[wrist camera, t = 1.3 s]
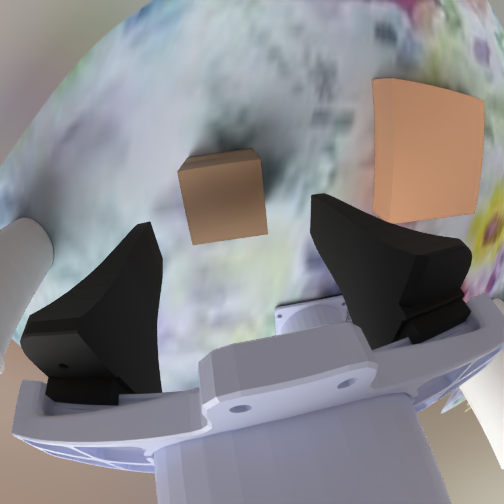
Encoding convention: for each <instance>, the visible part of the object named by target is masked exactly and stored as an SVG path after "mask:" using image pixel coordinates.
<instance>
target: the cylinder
mask: <svg viewBox="0 0 504 504" xmlns="http://www.w3.org/2000/svg"><path fill="white" fill-rule="evenodd" d="M492 301H493V302H494V303H495V305H496V306H497V307H498V309H499V310H500V311H501V313H502V314H503V315H504V302H503V301H502V300H501V299H493V300H492ZM459 387H460V389H461V390H462V392H463V394H464V395H465V397H466V399H467V401H468V402H469V404H470V406H471V408H472V409H473V411H474V413H475V415H476V417H477V419H478V420H479V422H480V424H481V426H482V428H483V430H484V432H485V434H486V436H487V438H488V440H489V442H490V444H491V446H492V448H493V450H494V452H495V455H496V457H497V459H498V461H499V464H500V466H501V468H502V470H503V469H504V348H503V349H502V350H501V351H500V353H499V354H498V355H497V356H496V357H495V358H494V359H493V360H492V361H491V363H490V364H489V365H488V366H487V367H486V368H484V369H483V370H482V371H480V372H479V373H478V374H476V375H475V376H473V377H472V378H471V379H469V380H468V381H466V382H465V383H463V384H462V385H461V386H459Z"/></svg>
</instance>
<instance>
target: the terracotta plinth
mask: <svg viewBox="0 0 504 504" xmlns="http://www.w3.org/2000/svg"><path fill="white" fill-rule="evenodd" d="M372 85H373V99H374V119H375V179H374V200H373V212H374V213H376V214H377V215H378V216H379V217H381V218H382V219H383V220H384V221H387V222H389V223H392V224H396V223H404V222H412V221H419V220H427V219H435V218H443V217H451V216H459V215H467V214H475V210H476V205H477V199H478V193H479V186H480V178H481V170H482V159H483V145H484V100H481V99H478V98H475V97H472V96H469V95H465V94H462V93H459V92H455V91H451V90H448V89H444V88H440V87H436V86H431V85H427V84H422V83H417V82H412V81H407V80H401V79H395V78H384V79H373V80H372Z"/></svg>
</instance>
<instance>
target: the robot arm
mask: <svg viewBox="0 0 504 504" xmlns="http://www.w3.org/2000/svg"><path fill="white" fill-rule="evenodd" d="M310 234H311V236H312V239H313V241H314V244H315V246H316V248H317V250H318V252H319V254H320V256H321V257H322V259H323V261H324V262H325V264H326V266H327V268H328V269H329V271H330V273H331V274H332V276H333V278H334V280H335V281H336V283H337V285H338V287H339V289H340V291H341V293H342V295H341V296H336V297H330V298H325V299H320V300H315V301H309V302H304V303H298V304H292V305H286V306H280V307H277V308H275V310H274V314H275V327H276V336H272V337H267V338H262V339H256V340H251V341H246V342H240V343H234V344H231V345H227V346H224V347H221V348H218V349H215V350H213V351H211V352H210V353H209V354H208V355H207V356H205V357H204V358H203V359H202V360H201V361H199V364H198V377H199V387H197V388H193V389H190V390H186V391H178V392H165V393H162V387H161V380H160V371H159V361H158V345H157V317H158V309H159V300H160V293H161V285H162V277H163V258H162V255H161V252H160V249H159V246H158V243H157V240H156V237H155V234H154V231H153V228H152V225H151V222H146V223H141V224H137V225H136V226H135V227H134V228H133V229H132V230H131V231H130V232H129V233H128V234H127V236H126V237H125V238H124V239H123V240H122V241H121V242H120V243H119V245H118V246H117V247H116V248H115V249H114V250H113V251H112V252H111V253H110V254H109V255H108V256H107V257H106V259H105V260H104V261H103V262H102V263H101V264H100V265H99V266H98V267H97V268H96V269H95V270H94V271H92V272H91V273H90V274H89V275H88V276H87V277H86V278H85V279H83V280H82V281H81V282H80V283H78V284H77V285H76V286H75V287H73V288H72V289H71V290H70V291H68V292H67V293H66V294H64V295H63V296H61V297H60V298H58V299H57V300H55V301H54V302H52V303H51V304H49V305H47V306H46V307H44V308H42V309H40V310H39V311H37V312H35V313H33V314H32V315H30V316H29V318H28V321H27V324H26V326H25V329H24V332H23V334H22V337H21V340H20V344H21V347H22V349H23V351H24V353H25V355H26V356H27V357H28V358H29V359H30V360H31V361H32V362H33V363H34V364H35V365H36V366H37V367H38V368H39V369H40V370H41V371H42V372H44V373H45V374H46V375H47V376H48V377H49V378H48V383H47V384H46V383H43V382H40V381H31V380H22V382H21V386H20V390H19V395H18V399H17V405H16V409H15V415H14V421H13V427H12V434H13V436H15V437H17V438H19V439H21V440H22V441H24V442H26V443H28V444H30V445H32V446H34V447H35V448H38V449H40V450H42V451H44V452H46V453H48V454H50V455H52V456H56V457H60V458H64V459H68V460H73V461H77V462H82V463H87V464H92V465H97V466H103V467H108V468H114V469H121V470H128V471H137V472H147V473H155V478H156V489H157V499H158V504H451V502H450V498H449V495H448V492H447V489H446V486H445V484H444V481H443V478H442V475H441V472H440V470H439V467H438V464H437V462H436V459H435V456H434V454H433V451H432V449H431V446H430V444H429V441H428V439H427V437H426V434H425V432H424V430H423V427H422V425H421V422H420V420H419V418H418V416H417V413H418V412H420V411H421V410H423V409H425V408H427V407H428V406H430V405H432V404H433V403H435V402H436V401H438V400H440V399H441V398H443V397H444V396H446V395H447V394H449V393H450V392H452V391H453V390H455V389H456V388H458V387H459V386H461V385H462V384H463V383H465V382H466V381H468V380H469V379H471V378H472V377H473V376H475V375H476V374H478V373H479V372H480V371H482V370H483V369H484V368H486V367H487V366H488V365H489V364H490V363H491V361H492V360H493V359H494V358H495V357H496V356H497V355H498V354H499V353H500V351H501V350H502V349H503V348H504V315H503V314H502V313H501V311H500V310H499V309H498V307H497V306H496V305H495V303H494V302H493V301H492V299H491V298H490V297H489V296H488V294H487V293H486V292H483V293H481V294H479V295H477V296H475V297H473V298H471V299H470V300H469V301H468V302H467V303H465V302H464V301H463V299H462V298H463V297H464V292H463V291H462V290H461V289H460V287H461V285H462V283H463V281H464V279H465V277H466V275H467V273H468V271H469V268H470V266H471V261H472V253H471V251H470V249H469V248H468V247H467V246H466V245H465V244H464V243H463V242H462V241H461V240H460V239H457V238H450V237H443V236H436V235H432V234H427V233H422V232H418V231H414V230H411V229H407V228H404V227H401V226H398V225H395V224H392V223H389V222H387V221H384V220H381V219H379V218H376V217H374V216H372V215H370V214H368V213H365V212H363V211H361V210H359V209H357V208H355V207H353V206H351V205H349V204H347V203H345V202H343V201H341V200H339V199H337V198H334V197H332V196H330V195H327V194H324V193H322V194H314V195H311V224H310ZM344 302H345V303H344ZM342 303H343V304H342ZM347 308H348V310H349V313H350V316H351V318H352V321H353V324H352V323H350V322H346V315H347ZM279 314H281V315H279Z"/></svg>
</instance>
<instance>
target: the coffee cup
mask: <svg viewBox="0 0 504 504" xmlns="http://www.w3.org/2000/svg"><path fill="white" fill-rule="evenodd" d="M53 259H54V252H53V247H52V243H51V241H50V238H49V236H48V234H47V233H46V231H45V230H44V229H43V228H42V226H41V225H40V224H38V223H37V222H36V221H34V220H32V219H30V218H26V217H23V218H19V219H17V220H15V221H14V222H12V223H10V224H9V225H7V226H6V227H4V228H2V229H1V230H0V374H1V373H2V372H3V371H4V368H5V367H4V361H3V357H4V354H5V352H6V350H7V347H8V345H9V343H10V341H11V338H12V336H13V334H14V332H15V330H16V328H17V326H18V324H19V322H20V320H21V318H22V316H23V314H24V312H25V310H26V308H27V306H28V304H29V303H30V301H31V299H32V297H33V295H34V294H35V292H36V290H37V289H38V287H39V285H40V284H41V282H42V280H43V279H44V277H45V275H46V274H47V272H48V271H49V269H50V267H51V266H52V263H53Z"/></svg>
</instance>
